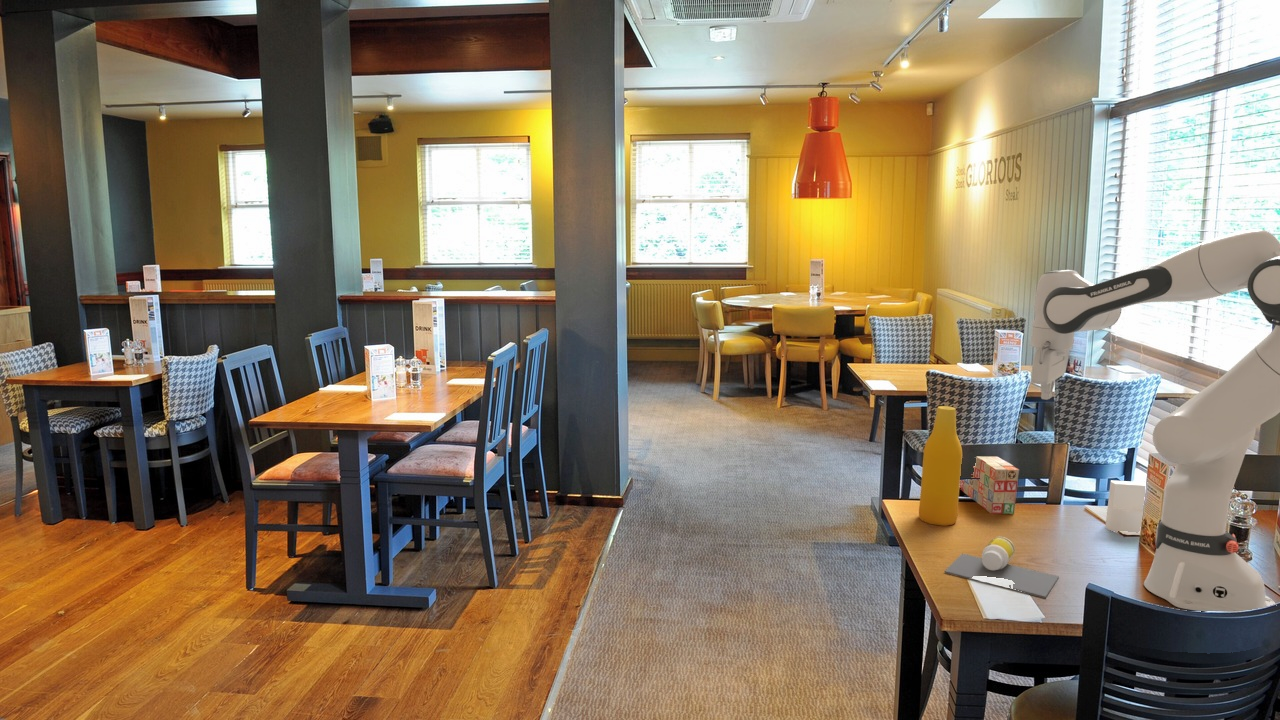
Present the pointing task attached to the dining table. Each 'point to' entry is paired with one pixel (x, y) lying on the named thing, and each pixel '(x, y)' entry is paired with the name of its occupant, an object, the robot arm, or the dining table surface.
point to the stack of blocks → (993, 485)
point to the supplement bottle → (997, 553)
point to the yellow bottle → (941, 471)
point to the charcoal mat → (1005, 575)
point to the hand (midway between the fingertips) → (1046, 398)
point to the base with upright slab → (1125, 506)
